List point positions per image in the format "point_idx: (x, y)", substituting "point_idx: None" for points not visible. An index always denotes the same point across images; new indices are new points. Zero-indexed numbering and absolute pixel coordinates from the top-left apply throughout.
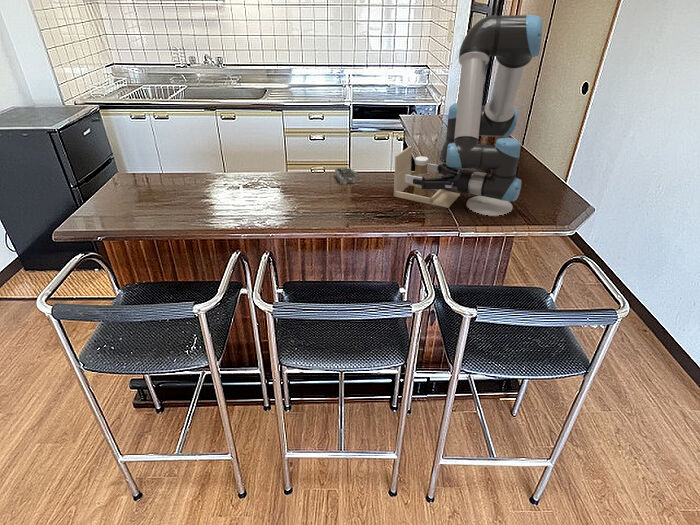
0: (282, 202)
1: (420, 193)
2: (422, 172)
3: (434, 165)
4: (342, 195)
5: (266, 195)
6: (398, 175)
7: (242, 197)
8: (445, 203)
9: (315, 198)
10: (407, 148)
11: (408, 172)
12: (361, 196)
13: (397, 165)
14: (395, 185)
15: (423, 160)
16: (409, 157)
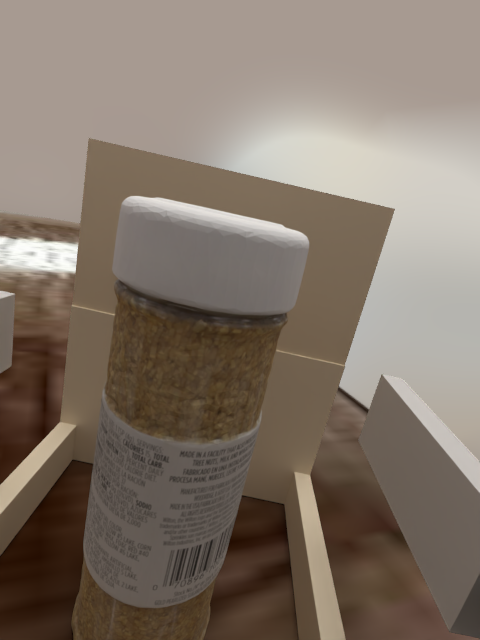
0: (15, 268)
1: (77, 615)
2: (113, 384)
3: (464, 484)
4: (69, 324)
5: (63, 263)
6: (107, 324)
7: (50, 252)
8: None
9: (41, 294)
10: (312, 190)
11: (284, 401)
12: (60, 355)
13: (99, 232)
14: (66, 377)
15: (141, 199)
16: (326, 289)
